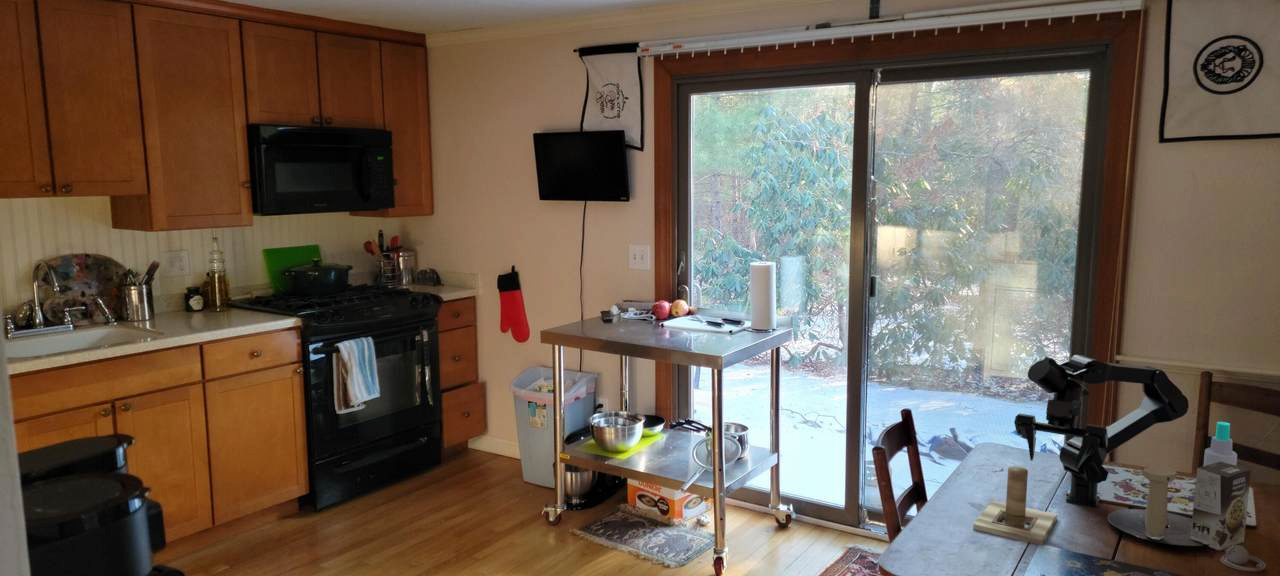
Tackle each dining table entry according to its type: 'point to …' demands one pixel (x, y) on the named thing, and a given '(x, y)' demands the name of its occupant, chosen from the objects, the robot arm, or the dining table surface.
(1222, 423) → the white bottle turquoise cap
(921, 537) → the dining table surface
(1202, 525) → the grey upright rectangular box
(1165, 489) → the handle
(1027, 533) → the socket board
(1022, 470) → the peg
